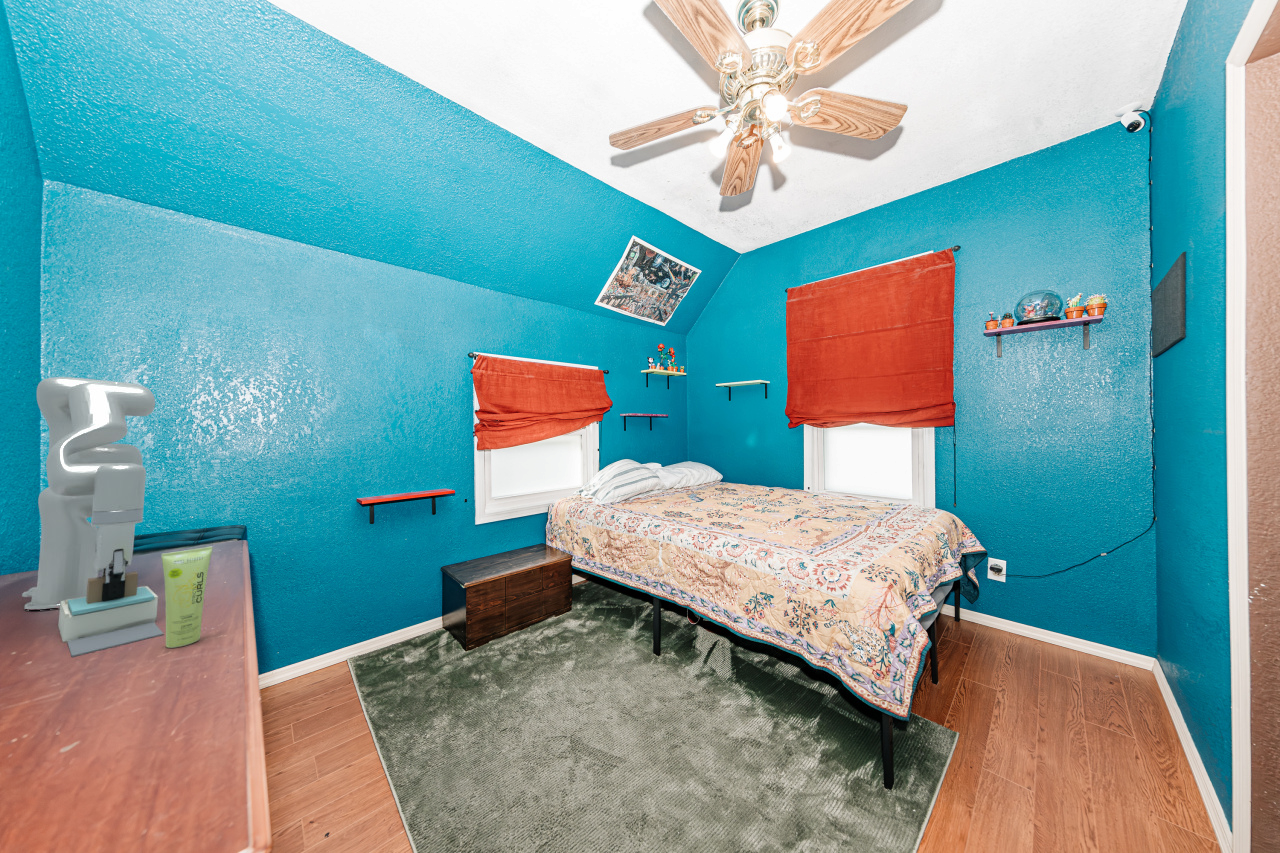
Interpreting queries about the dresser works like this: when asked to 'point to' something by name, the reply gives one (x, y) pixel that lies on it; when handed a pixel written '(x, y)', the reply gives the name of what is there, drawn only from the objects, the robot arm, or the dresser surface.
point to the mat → (113, 639)
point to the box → (105, 618)
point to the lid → (95, 600)
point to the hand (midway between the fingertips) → (111, 597)
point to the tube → (185, 594)
